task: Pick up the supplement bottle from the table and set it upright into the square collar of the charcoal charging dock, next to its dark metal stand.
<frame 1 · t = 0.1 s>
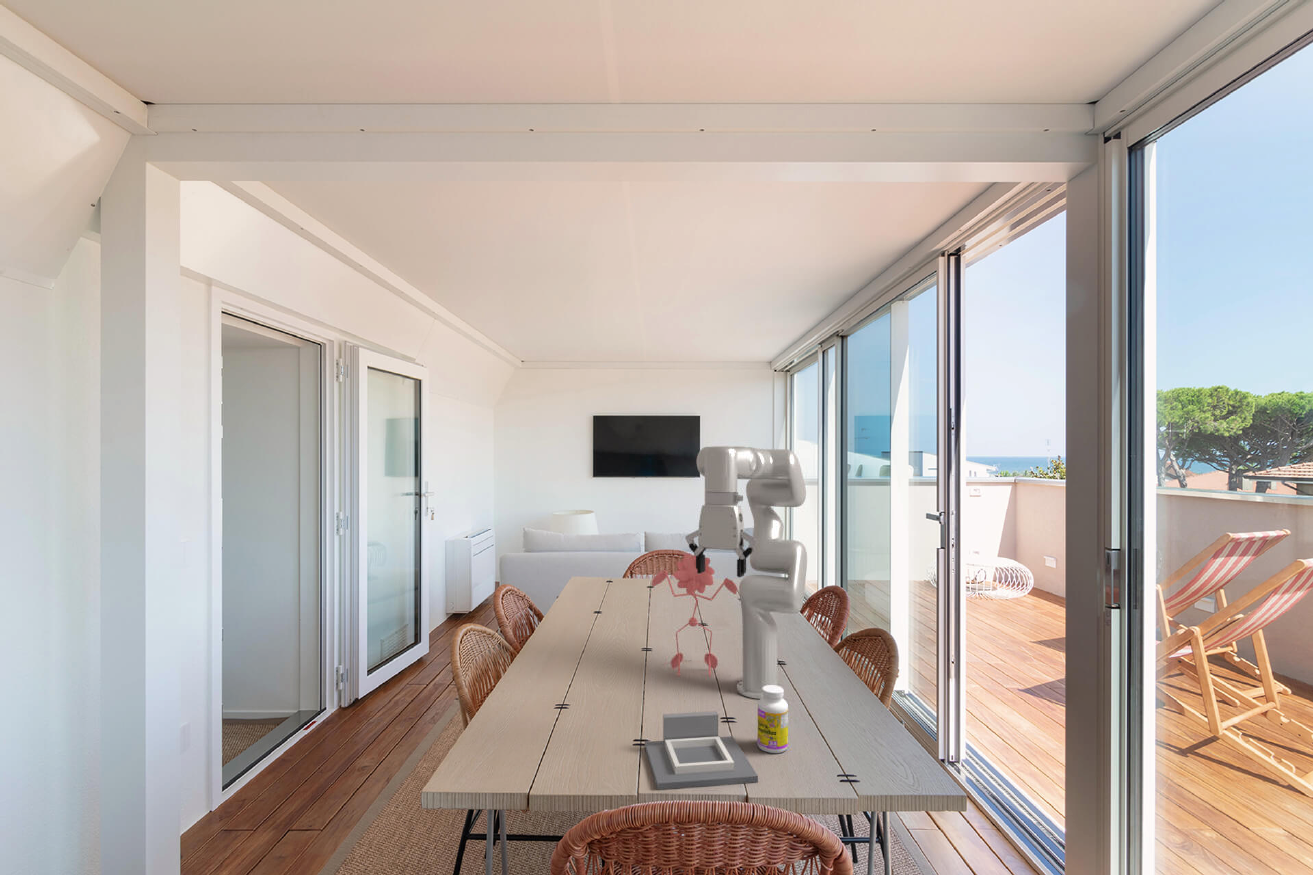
hand: (720, 574, 144), 37 cm above the table, tool pointing down, fingers open, 9 cm apart
pink stick figure: (693, 669, 191), on the table
supplement bottle: (772, 748, 138), on the table
dock: (698, 763, 130), on the table
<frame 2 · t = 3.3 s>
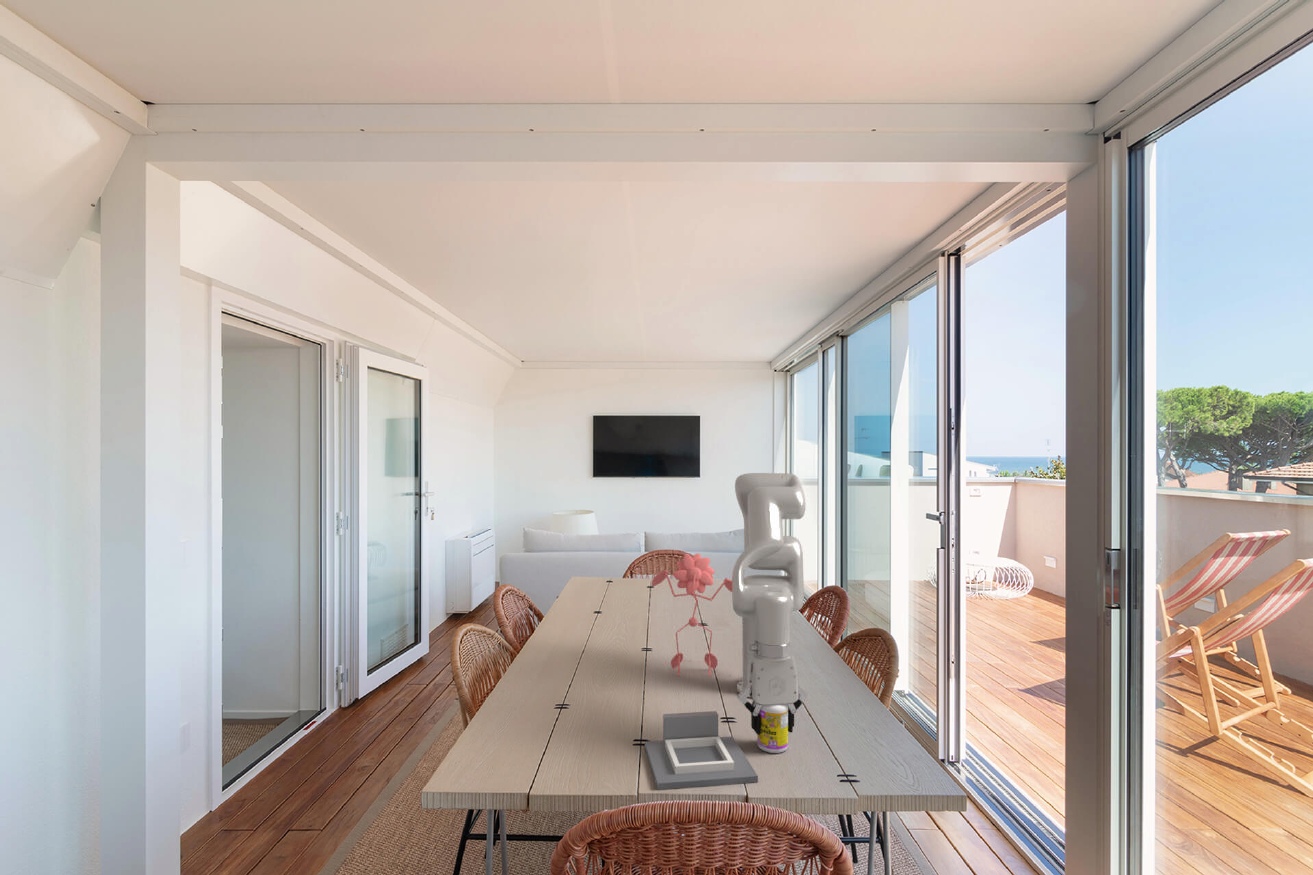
hand: (772, 730, 138), 4 cm above the table, tool pointing down, fingers closed on supplement bottle, 6 cm apart
supplement bottle: (772, 748, 138), on the table, touching gripper
everything else where it was.
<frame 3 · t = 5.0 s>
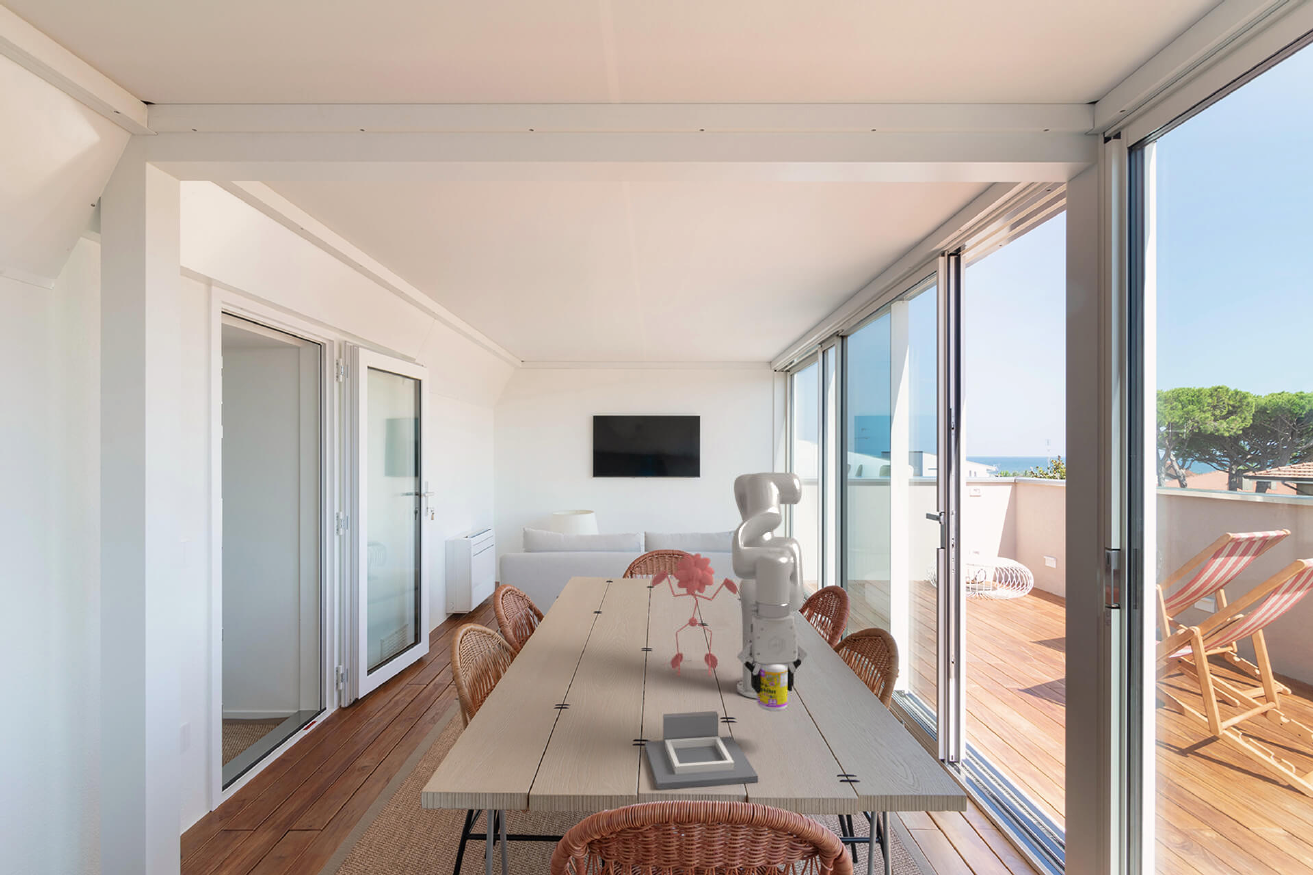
hand: (772, 689, 139), 12 cm above the table, tool pointing down, fingers closed on supplement bottle, 6 cm apart
supplement bottle: (772, 706, 139), point 8 cm above the table, touching gripper
everything else where it was.
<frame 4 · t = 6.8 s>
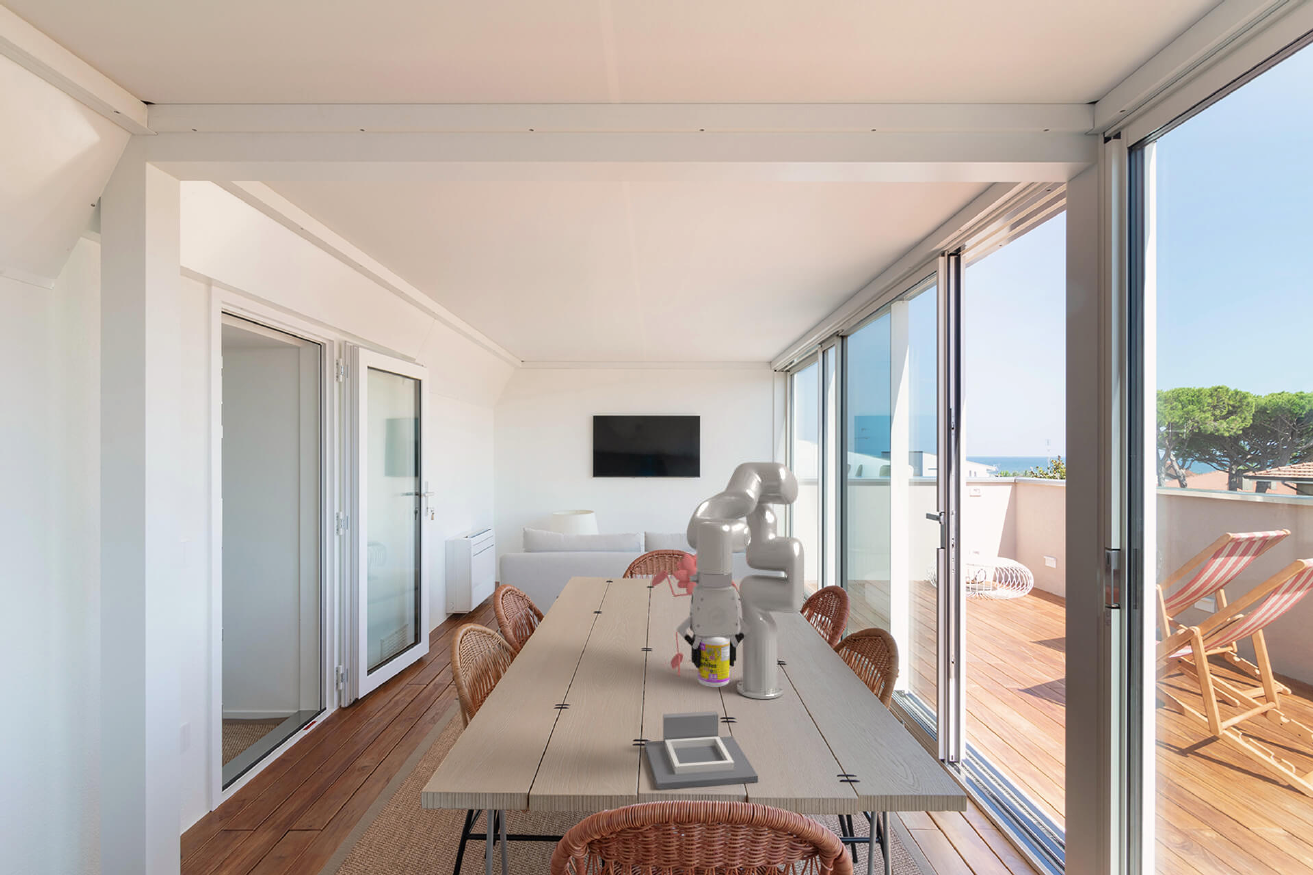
hand: (713, 664, 133), 20 cm above the table, tool pointing down, fingers closed on supplement bottle, 6 cm apart
supplement bottle: (713, 683, 132), point 16 cm above the table, touching gripper
everything else where it was.
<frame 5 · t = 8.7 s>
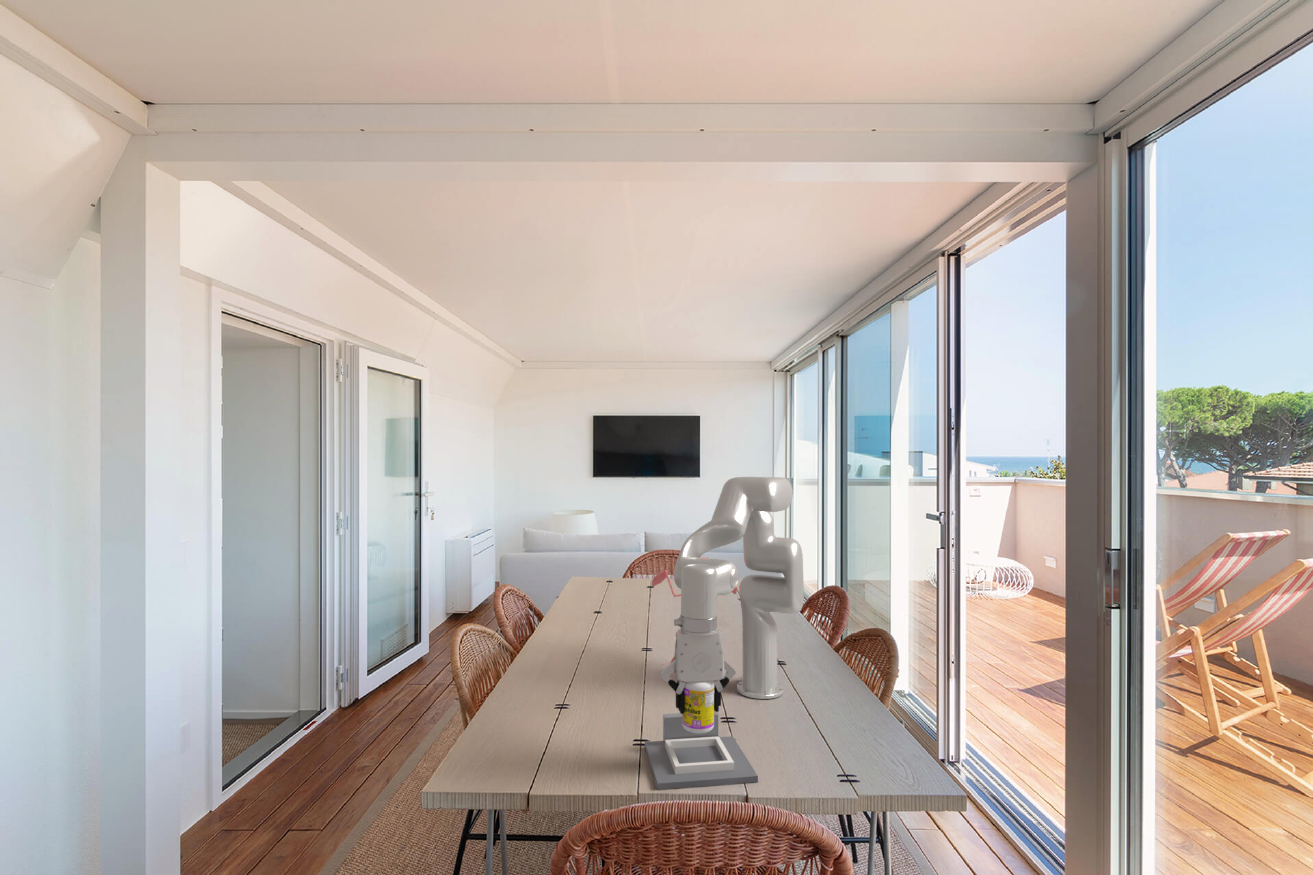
hand: (698, 709, 131), 11 cm above the table, tool pointing down, fingers closed on supplement bottle, 6 cm apart
supplement bottle: (698, 728, 131), point 7 cm above the table, touching gripper
everything else where it was.
when the fingers open (7 cm above the table, at t = 10.1 s): supplement bottle drops 2 cm, resting on dock.
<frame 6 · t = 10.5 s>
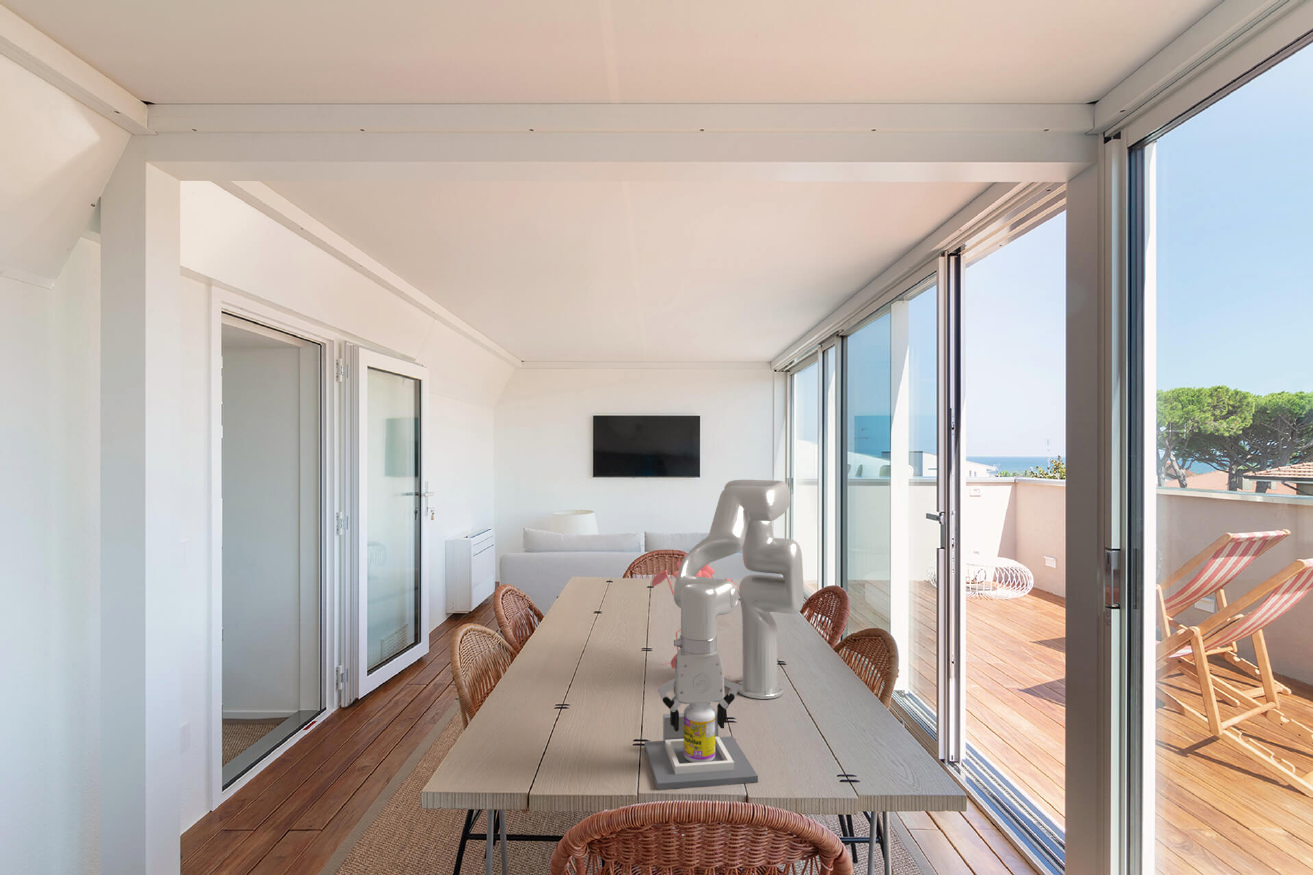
hand: (698, 727, 131), 8 cm above the table, tool pointing down, fingers open, 9 cm apart
supplement bottle: (699, 758, 131), point 1 cm above the table, touching dock
everything else where it was.
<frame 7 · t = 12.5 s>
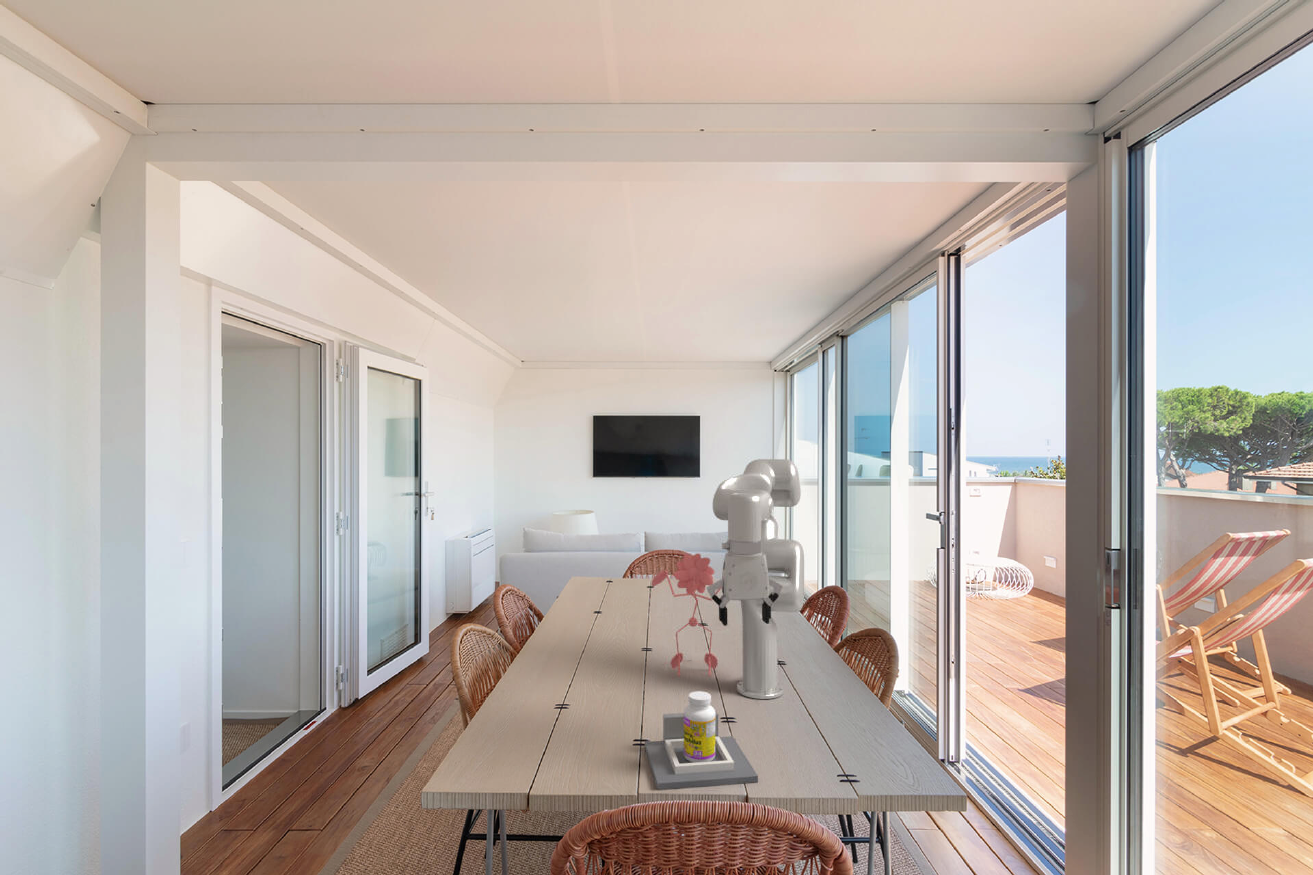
hand: (744, 623, 142), 27 cm above the table, tool pointing down, fingers open, 9 cm apart
nothing on the table moved.
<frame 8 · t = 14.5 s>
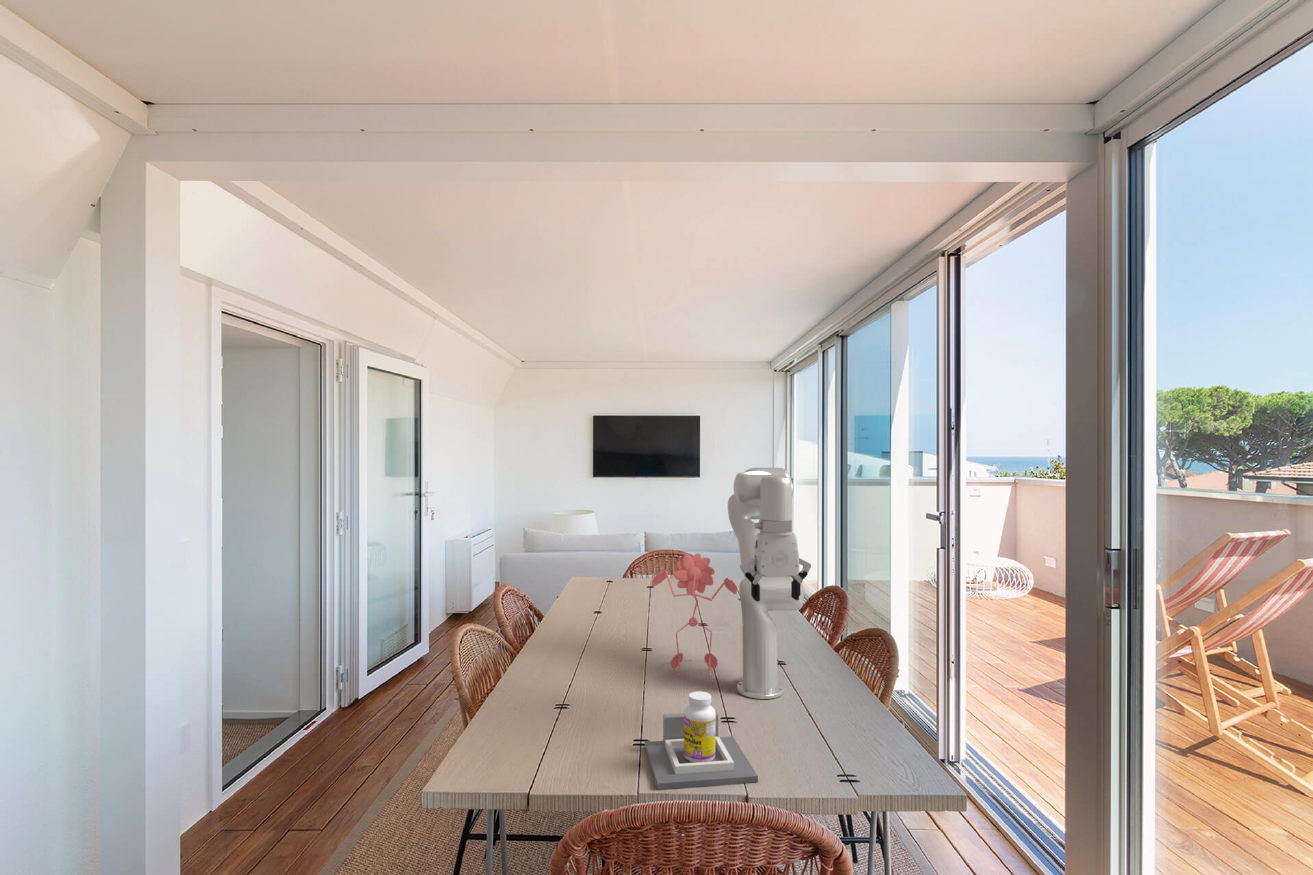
hand: (775, 599, 149), 30 cm above the table, tool pointing down, fingers open, 9 cm apart
nothing on the table moved.
at the end: supplement bottle 0.3 cm off-centre on the dock, point 1.0 cm above the dock's base; supplement bottle tilted 0°; the gripper is holding nothing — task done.
